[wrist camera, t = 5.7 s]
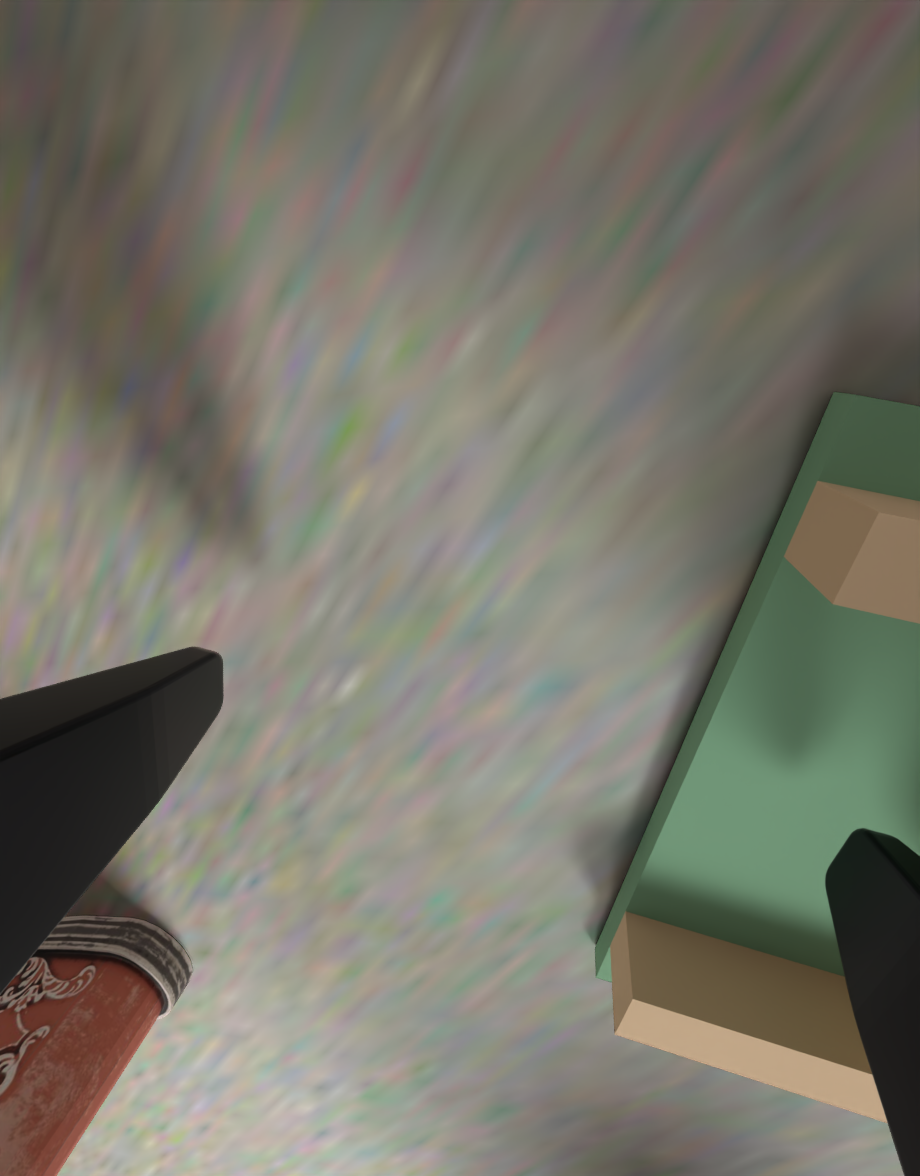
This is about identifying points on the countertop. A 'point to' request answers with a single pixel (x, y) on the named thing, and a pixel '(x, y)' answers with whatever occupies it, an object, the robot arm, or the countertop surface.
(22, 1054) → the lighter
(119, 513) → the countertop surface
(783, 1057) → the track
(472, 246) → the countertop surface
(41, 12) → the countertop surface
